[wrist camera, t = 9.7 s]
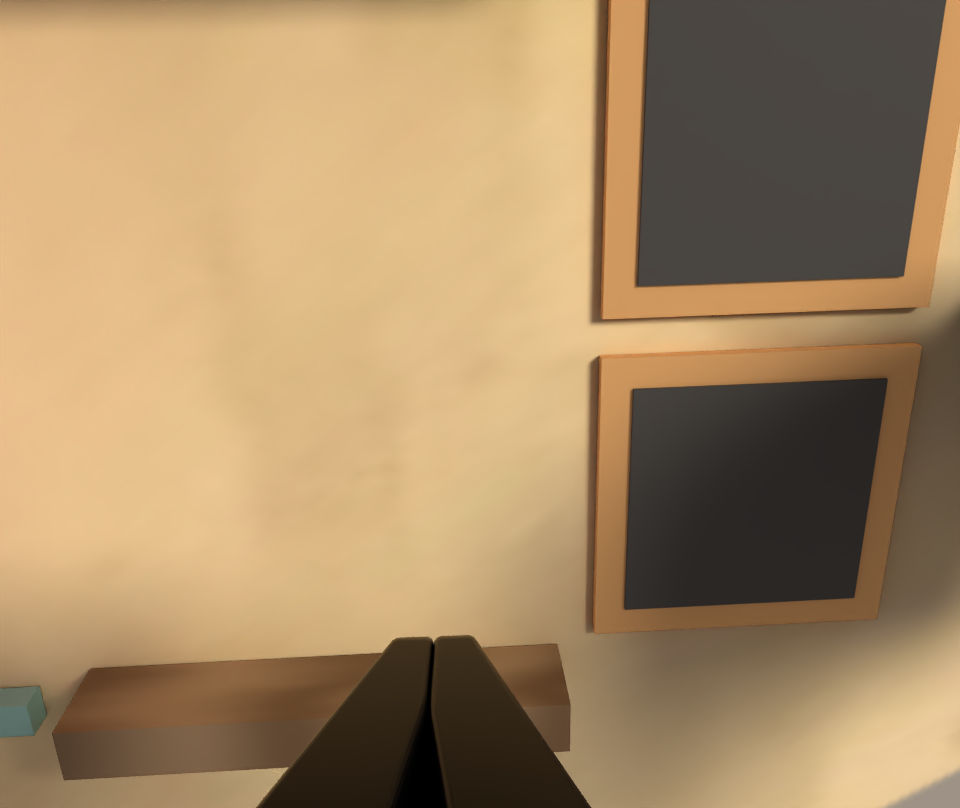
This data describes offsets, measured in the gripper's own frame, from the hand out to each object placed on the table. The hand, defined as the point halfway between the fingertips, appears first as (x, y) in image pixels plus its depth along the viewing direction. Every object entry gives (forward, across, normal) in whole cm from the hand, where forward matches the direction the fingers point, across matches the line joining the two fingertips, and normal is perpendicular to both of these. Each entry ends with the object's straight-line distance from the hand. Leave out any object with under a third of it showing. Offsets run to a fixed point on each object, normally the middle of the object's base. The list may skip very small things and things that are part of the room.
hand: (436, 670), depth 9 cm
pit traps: (+12, -8, 0) cm, 15 cm away
